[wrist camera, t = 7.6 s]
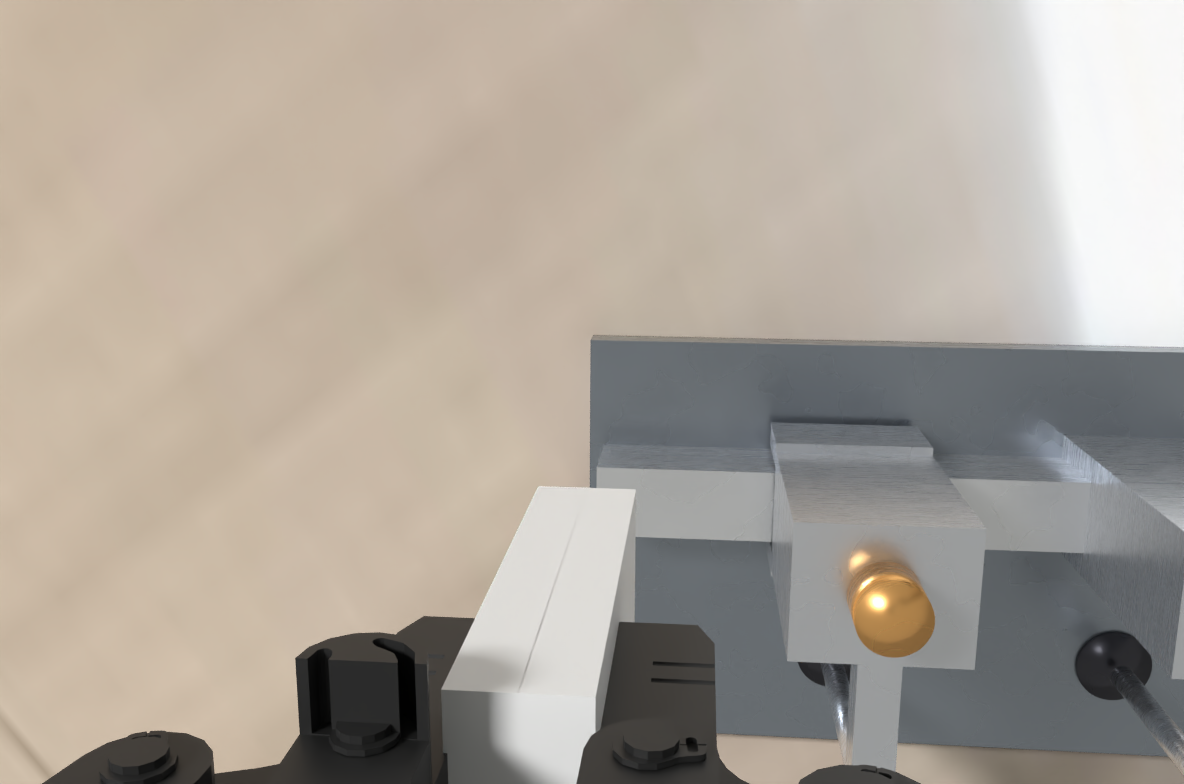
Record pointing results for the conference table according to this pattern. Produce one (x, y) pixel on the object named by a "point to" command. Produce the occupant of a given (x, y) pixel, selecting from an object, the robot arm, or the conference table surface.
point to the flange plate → (947, 420)
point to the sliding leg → (871, 570)
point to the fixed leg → (1137, 557)
